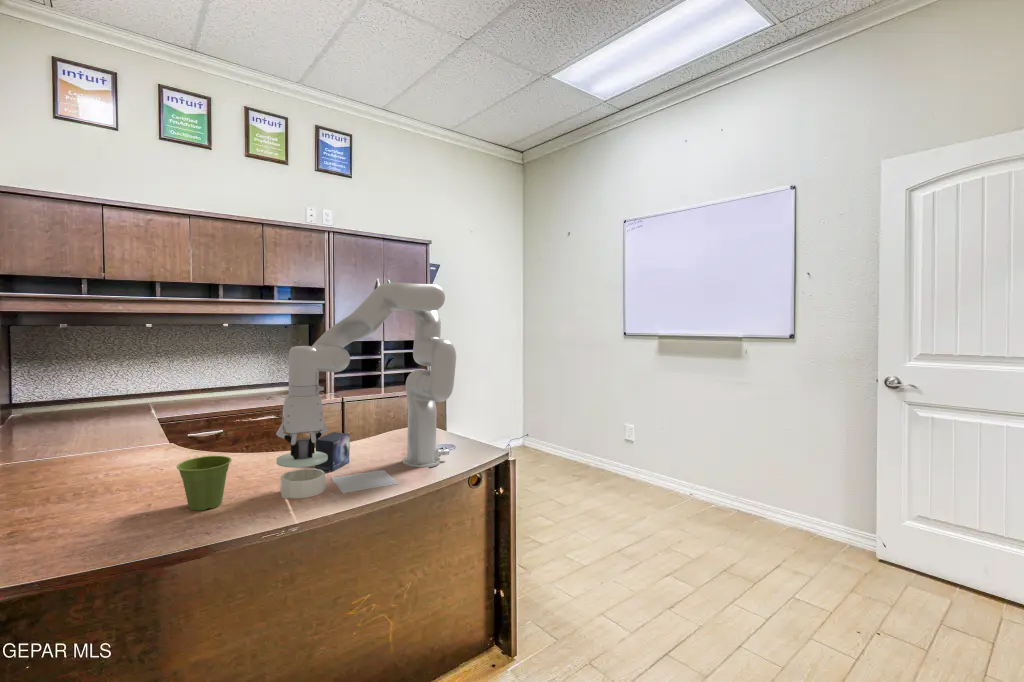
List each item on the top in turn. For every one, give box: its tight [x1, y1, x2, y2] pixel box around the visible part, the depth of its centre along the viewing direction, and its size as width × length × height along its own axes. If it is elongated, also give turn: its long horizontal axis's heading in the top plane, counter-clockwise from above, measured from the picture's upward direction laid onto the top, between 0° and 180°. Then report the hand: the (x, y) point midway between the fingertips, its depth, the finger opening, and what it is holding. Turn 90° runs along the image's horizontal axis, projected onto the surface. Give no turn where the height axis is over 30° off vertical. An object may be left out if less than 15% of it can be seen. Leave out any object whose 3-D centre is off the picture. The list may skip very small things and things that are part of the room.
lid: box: [275, 437, 328, 469], centre depth 134 cm, size 13×13×6 cm
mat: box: [330, 469, 399, 494], centre depth 144 cm, size 16×14×1 cm
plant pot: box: [176, 455, 233, 512], centre depth 124 cm, size 12×12×11 cm
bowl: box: [280, 467, 326, 500], centre depth 135 cm, size 11×11×5 cm
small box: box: [314, 431, 351, 473], centre depth 157 cm, size 11×6×10 cm, turn 168°
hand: (302, 456), depth 135 cm, fingers closed on lid, 3 cm apart
